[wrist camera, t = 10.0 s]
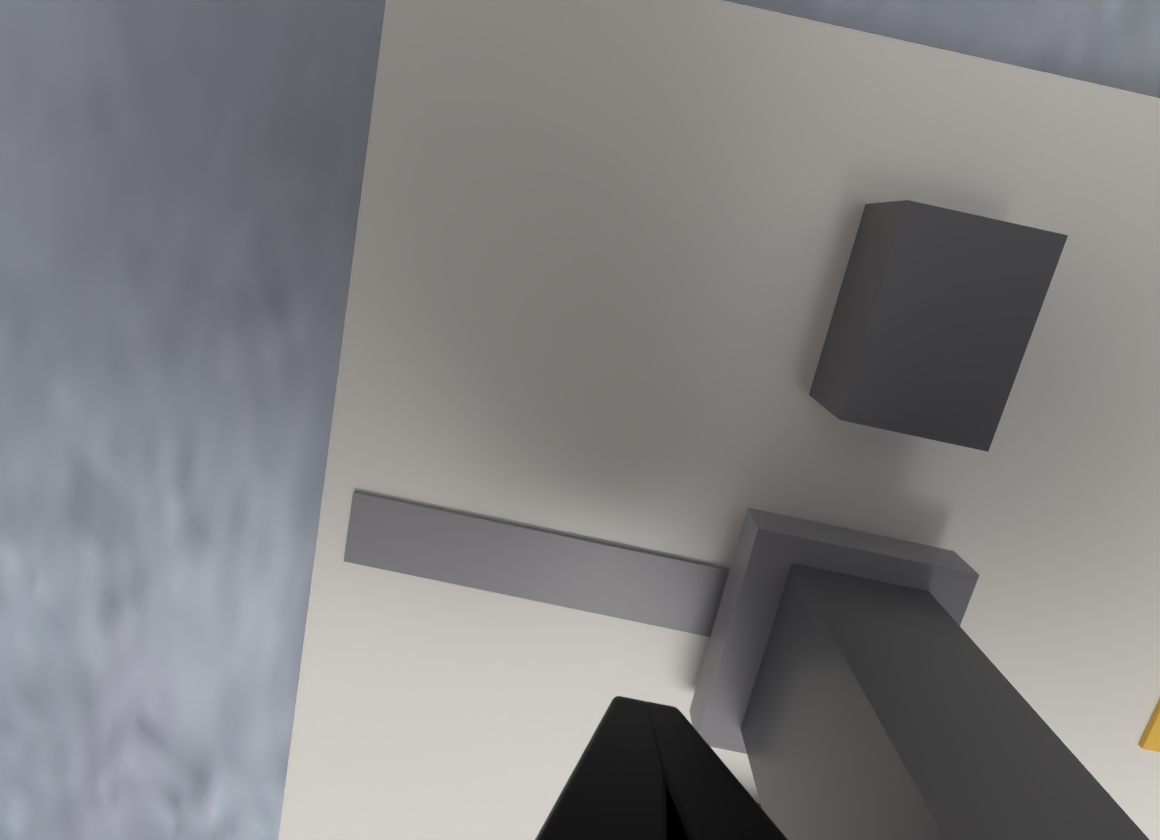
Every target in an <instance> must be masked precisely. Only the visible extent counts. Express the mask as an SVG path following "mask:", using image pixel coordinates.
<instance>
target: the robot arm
mask: <svg viewBox="0 0 1160 840" xmlns="http://www.w3.org/2000/svg"><path fill="white" fill-rule="evenodd" d="M535 840H788V839H787V838H786V837H785V836H784V834H783V833H782V832H781V831H780V830H779V828H778V827H777V826H776V825H775V824H774V822H773V821H772V820H771V819H770V818H769V816H768V815H767V814H766V813H765V812H764V810H763V809H762V808H761V807H760V806H759V804H758V803H757V802H756V801H755V800H754V799H753V797H752V796H751V795H750V794H749V793H748V791H747V790H746V789H745V788H744V787H743V785H742V784H741V783H740V782H739V781H738V779H737V778H736V777H735V776H734V775H733V773H732V772H731V771H730V770H729V769H728V767H727V766H726V765H725V764H724V763H723V761H722V760H721V759H720V758H719V757H718V756H717V754H716V753H715V752H714V751H713V750H712V748H711V747H710V746H709V745H708V744H707V742H706V741H705V740H704V739H703V738H702V736H701V735H700V734H699V733H698V732H697V730H696V729H695V728H694V727H693V726H692V724H691V723H690V722H689V721H688V720H687V719H686V717H685V716H684V715H683V714H682V713H681V711H680V710H679V709H677V708H676V707H674V706H669V705H664V704H658V703H653V702H646V701H643V700H638V699H632V698H627V697H622V696H616V697H614V698H613V699H612V701H611V703H610V705H609V707H608V708H607V710H606V712H605V714H604V716H603V717H602V719H601V721H600V723H599V725H598V726H597V728H596V730H595V732H594V734H593V735H592V737H591V739H590V741H589V743H588V745H587V746H586V748H585V750H584V752H583V754H582V755H581V757H580V759H579V761H578V763H577V764H576V766H575V768H574V770H573V772H572V773H571V775H570V777H569V779H568V781H567V783H566V784H565V786H564V788H563V790H562V792H561V793H560V795H559V797H558V799H557V801H556V802H555V804H554V806H553V808H552V810H551V811H550V813H549V815H548V817H547V819H546V821H545V822H544V824H543V826H542V828H541V830H540V831H539V833H538V835H537V837H536V839H535Z"/></svg>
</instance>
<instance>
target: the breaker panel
mask: <svg viewBox="0 0 1160 840" xmlns="http://www.w3.org/2000/svg"><path fill="white" fill-rule="evenodd" d="M747 508H752V509H757V510H762V511H767V512H771V513H776V514H781V515H786V516H790V517H795V518H800V519H805V520H809V521H814V522H819V523H824V524H828V525H833V526H838V527H843V528H847V529H852V530H857V531H862V532H866V533H871V534H876V535H881V536H885V537H890V538H895V539H900V540H904V541H909V542H914V543H919V544H923V545H928V546H933V547H938V548H942V549H947V550H952V551H954V552H955V553H957V554H958V555H959V556H960V557H961V558H962V559H963V560H964V561H965V562H966V563H967V564H968V565H969V566H971V567H972V568H973V569H974V570H975V571H976V572H977V573H978V574H979V578H978V580H977V583H976V586H975V588H974V591H973V593H972V596H971V599H970V601H969V604H968V606H967V609H966V612H965V614H964V617H963V620H962V622H961V625H960V627H961V628H962V629H963V630H964V631H965V633H966V634H967V635H968V636H969V637H970V638H971V639H972V640H973V642H974V643H975V644H976V645H977V646H978V647H979V648H980V649H981V651H982V652H983V653H984V654H985V655H986V656H987V657H988V658H989V660H990V661H991V662H992V663H993V664H994V665H995V666H996V667H997V669H998V670H999V671H1000V672H1001V673H1002V674H1003V675H1004V676H1005V678H1006V679H1007V680H1008V681H1009V682H1010V683H1011V684H1012V685H1013V687H1014V688H1015V689H1016V690H1017V691H1018V692H1019V693H1020V694H1021V696H1022V697H1023V698H1024V699H1025V700H1026V701H1027V702H1028V703H1029V705H1030V706H1031V707H1032V708H1033V709H1034V710H1035V711H1036V712H1037V714H1038V715H1039V716H1040V717H1041V718H1042V719H1043V720H1044V721H1045V723H1046V724H1047V725H1048V726H1049V727H1050V728H1051V729H1052V730H1053V732H1054V733H1055V734H1056V735H1057V736H1058V737H1059V738H1060V739H1061V741H1062V742H1063V743H1064V744H1065V745H1066V746H1067V747H1068V748H1069V750H1070V751H1071V752H1072V753H1073V754H1074V755H1075V756H1076V757H1077V759H1078V760H1079V761H1080V762H1081V763H1082V764H1083V765H1084V766H1085V768H1086V769H1087V770H1088V771H1089V772H1090V773H1091V774H1092V775H1093V777H1094V778H1095V779H1096V780H1097V781H1098V782H1099V783H1100V784H1101V786H1102V787H1103V788H1104V789H1105V790H1106V791H1107V792H1108V793H1109V795H1110V796H1111V797H1112V798H1113V799H1114V800H1115V801H1116V802H1117V804H1118V805H1119V806H1120V807H1121V808H1122V809H1123V810H1124V811H1125V813H1126V814H1127V815H1128V816H1129V817H1130V818H1131V819H1132V821H1133V822H1134V823H1135V824H1136V825H1137V826H1138V827H1139V828H1140V830H1141V831H1142V832H1143V833H1144V834H1145V835H1146V836H1147V837H1148V839H1149V840H1160V98H1158V97H1153V96H1149V95H1144V94H1140V93H1135V92H1131V91H1126V90H1122V89H1117V88H1113V87H1109V86H1104V85H1100V84H1095V83H1091V82H1086V81H1082V80H1077V79H1073V78H1068V77H1064V76H1060V75H1055V74H1051V73H1046V72H1042V71H1037V70H1033V69H1028V68H1024V67H1019V66H1015V65H1011V64H1006V63H1002V62H997V61H993V60H988V59H984V58H979V57H975V56H970V55H966V54H961V53H957V52H953V51H948V50H944V49H939V48H935V47H930V46H926V45H921V44H917V43H912V42H908V41H904V40H899V39H895V38H890V37H886V36H881V35H877V34H872V33H868V32H863V31H859V30H854V29H850V28H846V27H841V26H837V25H832V24H828V23H823V22H819V21H814V20H810V19H805V18H801V17H797V16H792V15H788V14H783V13H779V12H774V11H770V10H765V9H761V8H756V7H752V6H747V5H743V4H739V3H734V2H730V1H725V0H386V3H385V11H384V18H383V26H382V34H381V42H380V50H379V57H378V65H377V73H376V81H375V89H374V96H373V104H372V112H371V120H370V128H369V136H368V143H367V151H366V159H365V167H364V175H363V182H362V190H361V198H360V206H359V214H358V221H357V229H356V237H355V245H354V253H353V261H352V268H351V276H350V284H349V292H348V300H347V307H346V315H345V323H344V331H343V339H342V346H341V354H340V362H339V370H338V378H337V386H336V393H335V401H334V409H333V417H332V425H331V432H330V440H329V448H328V456H327V464H326V472H325V479H324V487H323V495H322V503H321V511H320V518H319V526H318V534H317V542H316V550H315V557H314V565H313V573H312V581H311V589H310V597H309V604H308V612H307V620H306V628H305V636H304V643H303V651H302V659H301V667H300V675H299V682H298V690H297V698H296V706H295V714H294V722H293V729H292V737H291V745H290V753H289V761H288V768H287V776H286V784H285V792H284V800H283V807H282V815H281V823H280V831H279V839H278V840H535V839H536V837H537V835H538V833H539V831H540V830H541V828H542V826H543V824H544V822H545V821H546V819H547V817H548V815H549V813H550V811H551V810H552V808H553V806H554V804H555V802H556V801H557V799H558V797H559V795H560V793H561V792H562V790H563V788H564V786H565V784H566V783H567V781H568V779H569V777H570V775H571V773H572V772H573V770H574V768H575V766H576V764H577V763H578V761H579V759H580V757H581V755H582V754H583V752H584V750H585V748H586V746H587V745H588V743H589V741H590V739H591V737H592V735H593V734H594V732H595V730H596V728H597V726H598V725H599V723H600V721H601V719H602V717H603V716H604V714H605V712H606V710H607V708H608V707H609V705H610V703H611V701H612V699H613V698H614V697H616V696H622V697H627V698H632V699H638V700H643V701H646V702H653V703H658V704H664V705H669V706H674V707H676V708H677V709H679V710H680V711H681V713H682V714H683V715H684V716H685V717H686V719H687V720H688V721H689V722H690V723H691V724H692V722H691V716H690V711H689V710H690V707H691V703H692V700H693V696H694V693H695V689H696V686H697V682H698V679H699V675H700V672H701V668H702V665H703V661H704V658H705V654H706V651H707V647H708V644H709V640H710V637H711V633H712V630H713V626H714V623H715V619H716V616H717V612H718V609H719V605H720V602H721V599H722V595H723V592H724V588H725V585H726V581H727V578H728V574H729V571H730V567H731V564H732V560H733V557H734V553H735V550H736V546H737V543H738V539H739V536H740V532H741V529H742V525H743V522H744V518H745V515H746V511H747ZM711 748H712V750H713V751H714V752H715V753H716V754H717V756H718V757H719V758H720V759H721V760H722V761H723V763H724V764H725V765H726V766H727V767H728V769H729V770H730V771H731V772H732V773H733V775H734V776H735V777H736V778H737V779H738V781H739V782H740V783H741V784H742V785H743V787H744V788H745V789H746V790H747V791H748V793H749V794H750V795H751V796H752V797H753V799H754V800H755V801H756V802H757V803H758V804H759V806H760V807H761V804H760V800H759V796H758V793H757V789H756V785H755V782H754V778H753V774H752V770H751V767H750V763H749V759H748V756H747V754H745V753H740V752H735V751H730V750H725V749H720V748H715V747H711Z"/></svg>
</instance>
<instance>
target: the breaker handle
mask: <svg viewBox="0 0 1160 840" xmlns="http://www.w3.org/2000/svg"><path fill="white" fill-rule="evenodd" d="M978 578H979V574H978V573H977V572H976V571H975V570H974V569H973V568H972V567H971V566H969V565H968V564H967V563H966V562H965V561H964V560H963V559H962V558H961V557H960V556H959V555H958V554H957V553H955V552H954V551H952V550H947V549H942V548H938V547H933V546H928V545H923V544H919V543H914V542H909V541H904V540H900V539H895V538H890V537H885V536H881V535H876V534H871V533H866V532H862V531H857V530H852V529H847V528H843V527H838V526H833V525H828V524H824V523H819V522H814V521H809V520H805V519H800V518H795V517H790V516H786V515H781V514H776V513H771V512H767V511H762V510H757V509H752V508H747V511H746V515H745V518H744V522H743V525H742V529H741V532H740V536H739V539H738V543H737V546H736V550H735V553H734V557H733V560H732V564H731V567H730V571H729V574H728V578H727V581H726V585H725V588H724V592H723V595H722V599H721V602H720V605H719V609H718V612H717V616H716V619H715V623H714V626H713V630H712V633H711V637H710V640H709V644H708V647H707V651H706V654H705V658H704V661H703V665H702V668H701V672H700V675H699V679H698V682H697V686H696V689H695V693H694V696H693V700H692V703H691V707H690V710H689V711H690V716H691V722H692V726H693V727H694V728H695V729H696V730H697V732H698V733H699V734H700V735H701V736H702V738H703V739H704V740H705V741H706V742H707V744H708V745H709V746H710V747H715V748H720V749H725V750H730V751H735V752H740V753H745V754H747V756H748V759H749V763H750V767H751V770H752V774H753V778H754V782H755V785H756V789H757V793H758V796H759V800H760V804H761V808H762V809H763V810H764V812H765V813H766V814H767V815H768V816H769V818H770V819H771V820H772V821H773V822H774V824H775V825H776V826H777V827H778V828H779V830H780V831H781V832H782V833H783V834H784V836H785V837H786V838H787V839H788V840H1149V839H1148V837H1147V836H1146V835H1145V834H1144V833H1143V832H1142V831H1141V830H1140V828H1139V827H1138V826H1137V825H1136V824H1135V823H1134V822H1133V821H1132V819H1131V818H1130V817H1129V816H1128V815H1127V814H1126V813H1125V811H1124V810H1123V809H1122V808H1121V807H1120V806H1119V805H1118V804H1117V802H1116V801H1115V800H1114V799H1113V798H1112V797H1111V796H1110V795H1109V793H1108V792H1107V791H1106V790H1105V789H1104V788H1103V787H1102V786H1101V784H1100V783H1099V782H1098V781H1097V780H1096V779H1095V778H1094V777H1093V775H1092V774H1091V773H1090V772H1089V771H1088V770H1087V769H1086V768H1085V766H1084V765H1083V764H1082V763H1081V762H1080V761H1079V760H1078V759H1077V757H1076V756H1075V755H1074V754H1073V753H1072V752H1071V751H1070V750H1069V748H1068V747H1067V746H1066V745H1065V744H1064V743H1063V742H1062V741H1061V739H1060V738H1059V737H1058V736H1057V735H1056V734H1055V733H1054V732H1053V730H1052V729H1051V728H1050V727H1049V726H1048V725H1047V724H1046V723H1045V721H1044V720H1043V719H1042V718H1041V717H1040V716H1039V715H1038V714H1037V712H1036V711H1035V710H1034V709H1033V708H1032V707H1031V706H1030V705H1029V703H1028V702H1027V701H1026V700H1025V699H1024V698H1023V697H1022V696H1021V694H1020V693H1019V692H1018V691H1017V690H1016V689H1015V688H1014V687H1013V685H1012V684H1011V683H1010V682H1009V681H1008V680H1007V679H1006V678H1005V676H1004V675H1003V674H1002V673H1001V672H1000V671H999V670H998V669H997V667H996V666H995V665H994V664H993V663H992V662H991V661H990V660H989V658H988V657H987V656H986V655H985V654H984V653H983V652H982V651H981V649H980V648H979V647H978V646H977V645H976V644H975V643H974V642H973V640H972V639H971V638H970V637H969V636H968V635H967V634H966V633H965V631H964V630H963V629H962V628H961V627H960V625H961V622H962V620H963V617H964V614H965V612H966V609H967V606H968V604H969V601H970V599H971V596H972V593H973V591H974V588H975V586H976V583H977V580H978Z"/></svg>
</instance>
